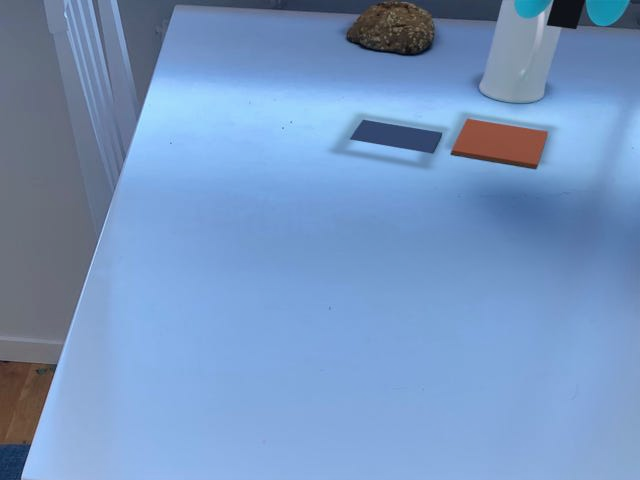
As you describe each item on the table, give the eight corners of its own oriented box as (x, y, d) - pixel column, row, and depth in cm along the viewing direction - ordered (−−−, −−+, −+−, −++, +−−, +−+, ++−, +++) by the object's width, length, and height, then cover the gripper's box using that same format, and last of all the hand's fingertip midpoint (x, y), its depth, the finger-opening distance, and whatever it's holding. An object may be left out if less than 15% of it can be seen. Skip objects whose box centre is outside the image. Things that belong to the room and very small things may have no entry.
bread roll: (438, 33, 143) (446, -6, 139) (427, 58, 135) (436, 18, 131) (354, 23, 145) (360, -15, 141) (339, 47, 137) (345, 7, 133)
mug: (546, 115, 121) (579, 6, 112) (479, 108, 122) (506, 0, 113) (541, 84, 129) (572, -20, 120) (478, 78, 130) (503, -26, 121)
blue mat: (441, 136, 115) (442, 132, 115) (422, 173, 108) (423, 169, 108) (362, 123, 118) (362, 119, 117) (338, 158, 110) (338, 154, 110)
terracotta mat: (547, 135, 116) (548, 131, 116) (536, 168, 110) (537, 164, 109) (466, 122, 119) (467, 118, 118) (450, 154, 112) (451, 149, 112)
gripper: (620, -328, 82) (538, -25, 99) (606, -312, 68) (513, 39, 84) (711, -323, 80) (612, -16, 97) (717, -305, 66) (599, 51, 83)
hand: (566, 9), depth 91 cm, fingers closed on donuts, 10 cm apart
